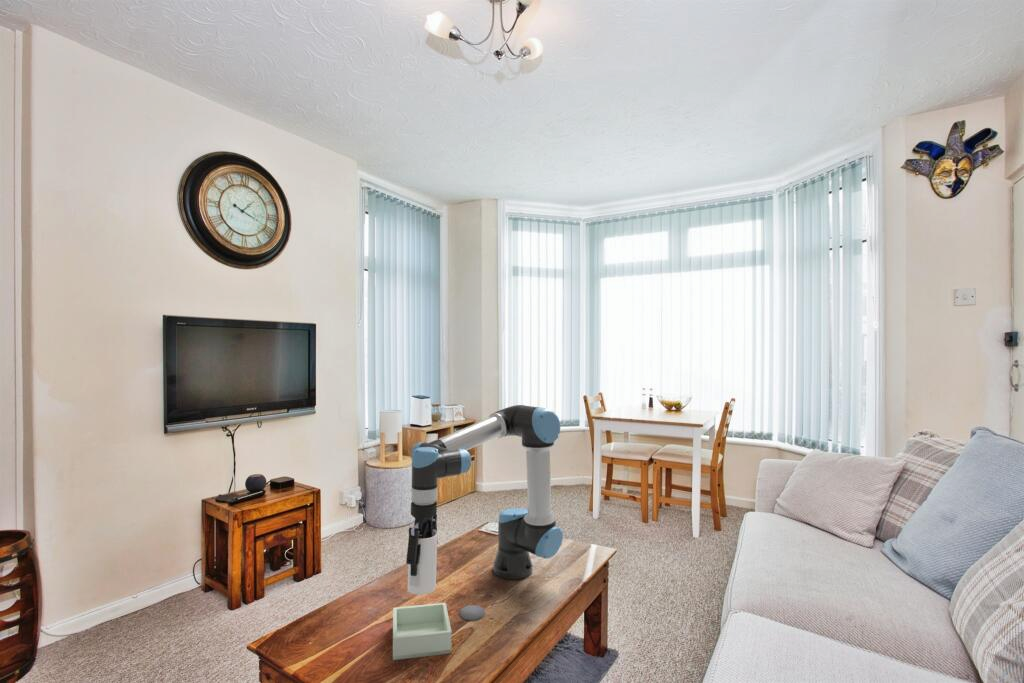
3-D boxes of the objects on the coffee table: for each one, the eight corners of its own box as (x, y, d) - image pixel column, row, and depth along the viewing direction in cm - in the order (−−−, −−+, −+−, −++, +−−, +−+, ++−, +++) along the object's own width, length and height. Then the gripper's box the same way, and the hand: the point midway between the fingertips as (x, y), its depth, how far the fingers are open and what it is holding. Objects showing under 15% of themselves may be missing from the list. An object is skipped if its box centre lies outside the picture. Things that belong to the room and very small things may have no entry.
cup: (440, 583, 148) (441, 529, 148) (428, 596, 140) (430, 540, 140) (415, 579, 150) (416, 526, 150) (402, 592, 142) (403, 536, 143)
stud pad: (482, 605, 165) (482, 604, 165) (486, 618, 157) (486, 617, 157) (458, 608, 163) (458, 606, 163) (461, 621, 155) (461, 619, 155)
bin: (445, 621, 155) (445, 602, 155) (451, 653, 139) (451, 631, 140) (392, 627, 151) (393, 607, 151) (392, 660, 136) (393, 638, 136)
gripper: (428, 489, 157) (426, 561, 156) (394, 510, 136) (392, 593, 136) (450, 492, 154) (448, 565, 154) (419, 514, 134) (416, 598, 134)
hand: (421, 578), depth 145 cm, fingers closed on cup, 8 cm apart
